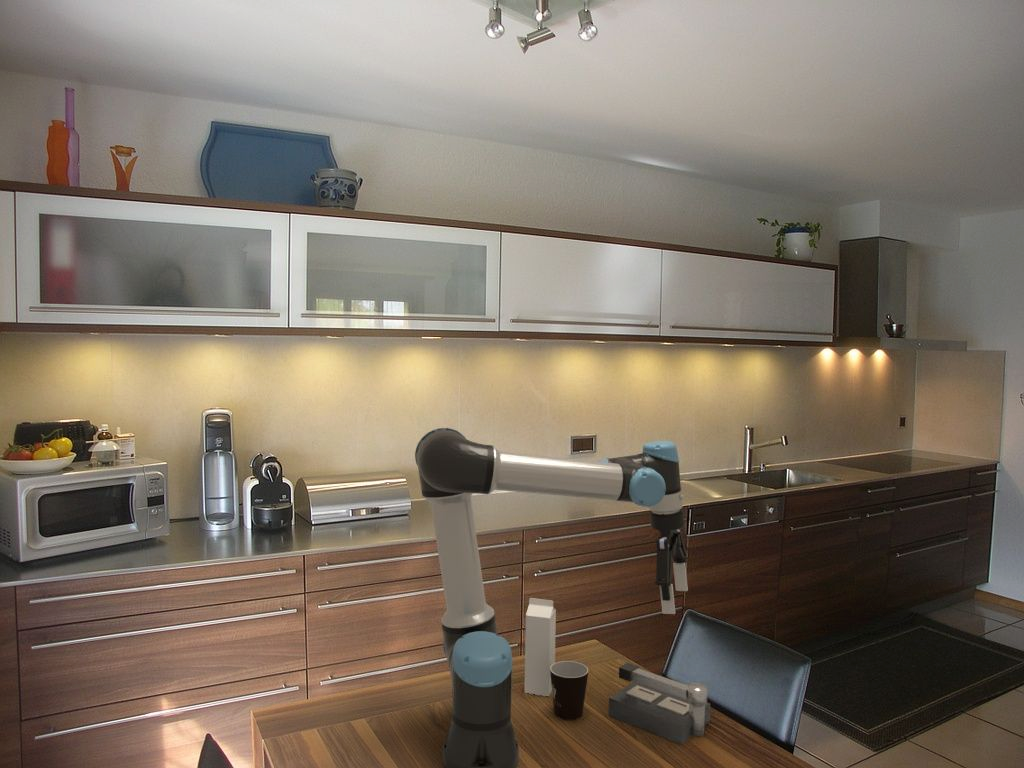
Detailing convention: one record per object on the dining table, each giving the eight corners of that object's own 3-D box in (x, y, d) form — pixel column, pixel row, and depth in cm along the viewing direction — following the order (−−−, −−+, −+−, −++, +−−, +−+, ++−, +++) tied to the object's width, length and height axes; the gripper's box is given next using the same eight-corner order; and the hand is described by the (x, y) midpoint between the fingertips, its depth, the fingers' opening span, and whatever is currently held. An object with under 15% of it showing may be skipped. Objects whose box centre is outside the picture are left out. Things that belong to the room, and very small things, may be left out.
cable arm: (710, 701, 153) (710, 686, 153) (701, 708, 150) (701, 693, 150) (627, 672, 167) (628, 658, 167) (618, 678, 164) (618, 664, 164)
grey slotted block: (608, 715, 160) (609, 686, 160) (639, 695, 170) (639, 668, 170) (688, 747, 147) (689, 716, 147) (716, 723, 157) (717, 694, 157)
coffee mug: (585, 724, 156) (586, 679, 156) (546, 720, 158) (547, 675, 157) (590, 699, 167) (591, 657, 167) (553, 695, 169) (554, 654, 169)
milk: (530, 682, 176) (532, 593, 175) (554, 686, 174) (556, 596, 173) (524, 693, 170) (525, 601, 169) (549, 697, 168) (550, 604, 167)
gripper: (670, 525, 149) (680, 625, 150) (693, 496, 171) (702, 582, 173) (635, 525, 152) (645, 622, 153) (662, 496, 174) (671, 581, 176)
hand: (675, 601), depth 163 cm, fingers open, 13 cm apart
